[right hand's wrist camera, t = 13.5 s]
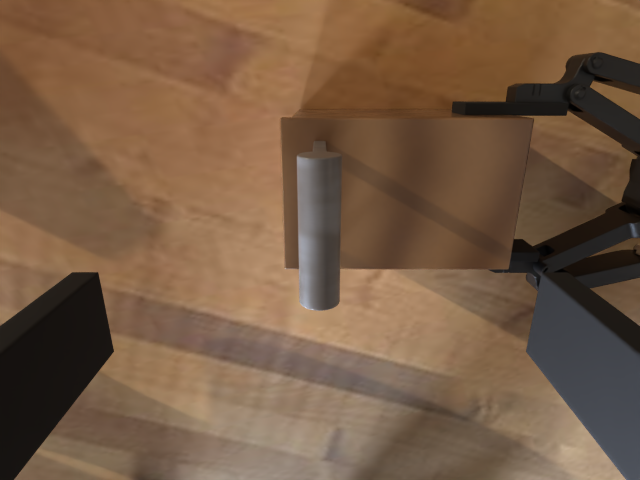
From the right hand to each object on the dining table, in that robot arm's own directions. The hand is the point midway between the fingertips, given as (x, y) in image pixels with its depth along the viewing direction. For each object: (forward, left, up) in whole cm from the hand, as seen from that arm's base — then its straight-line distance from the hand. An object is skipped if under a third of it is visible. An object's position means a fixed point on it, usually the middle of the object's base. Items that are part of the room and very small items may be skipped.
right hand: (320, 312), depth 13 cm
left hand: (+5, -8, -18) cm, 20 cm away
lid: (+3, -4, -14) cm, 15 cm away
